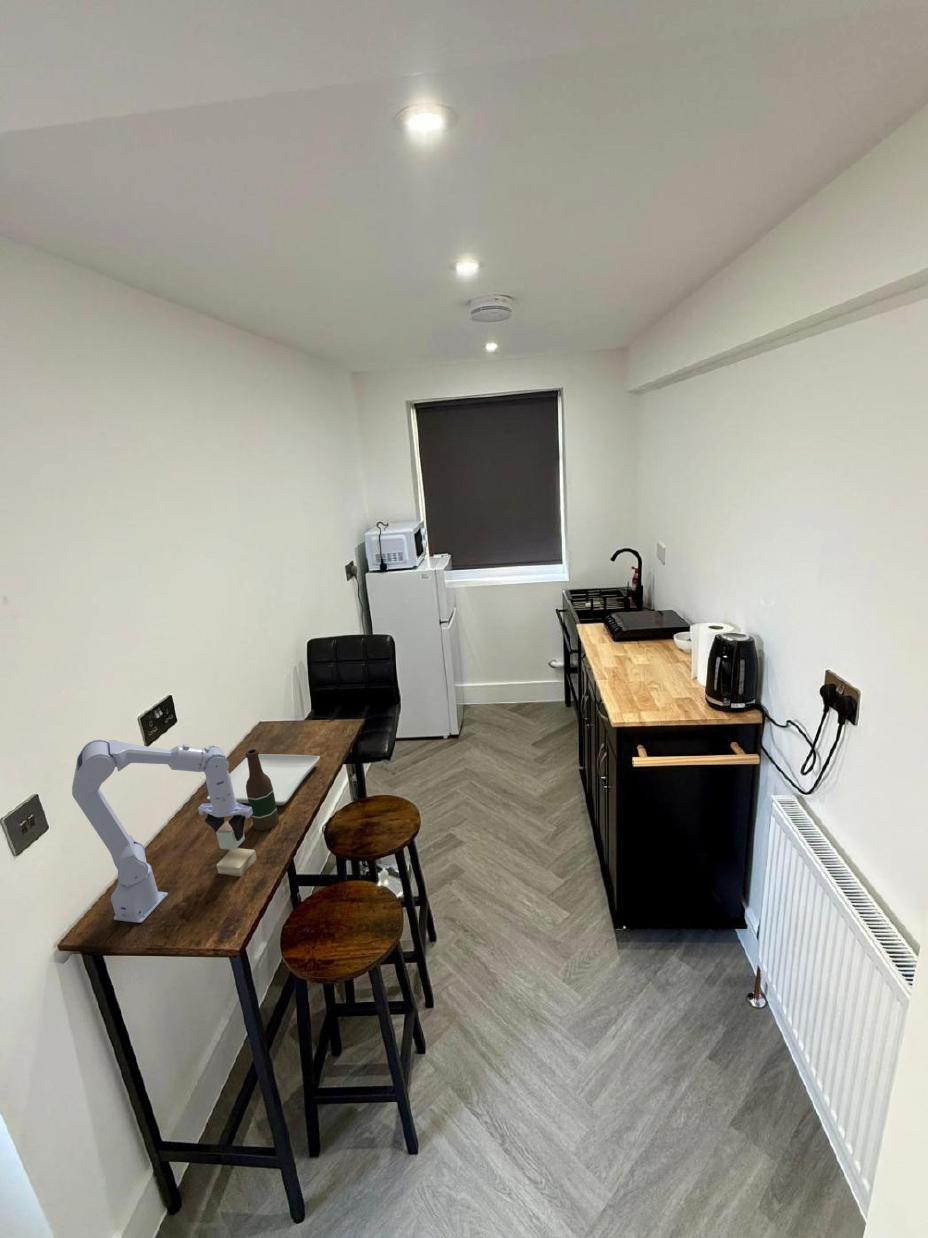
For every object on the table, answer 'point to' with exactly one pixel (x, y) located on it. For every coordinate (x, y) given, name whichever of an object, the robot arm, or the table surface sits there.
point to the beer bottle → (260, 794)
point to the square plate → (274, 775)
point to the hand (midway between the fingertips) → (231, 837)
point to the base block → (236, 862)
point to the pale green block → (228, 837)
